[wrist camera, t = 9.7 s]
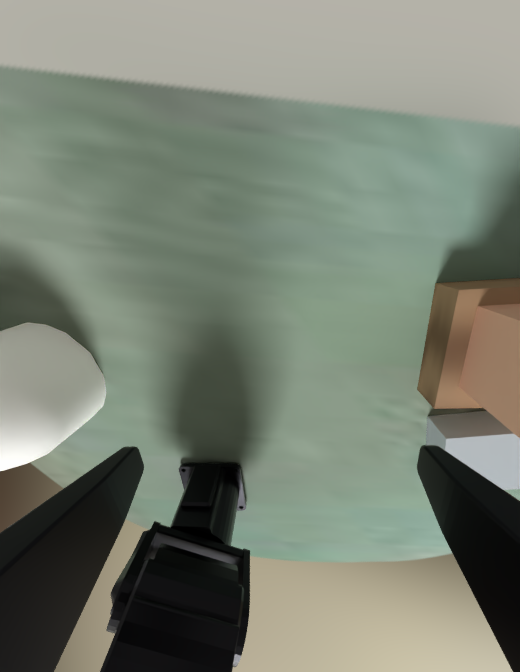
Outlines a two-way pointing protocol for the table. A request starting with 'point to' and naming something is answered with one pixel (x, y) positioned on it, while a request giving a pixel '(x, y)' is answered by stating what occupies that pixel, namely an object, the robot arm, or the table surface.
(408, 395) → the table surface
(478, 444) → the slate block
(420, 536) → the table surface
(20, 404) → the teardrop
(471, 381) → the terracotta block
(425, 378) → the walnut block
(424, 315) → the table surface
